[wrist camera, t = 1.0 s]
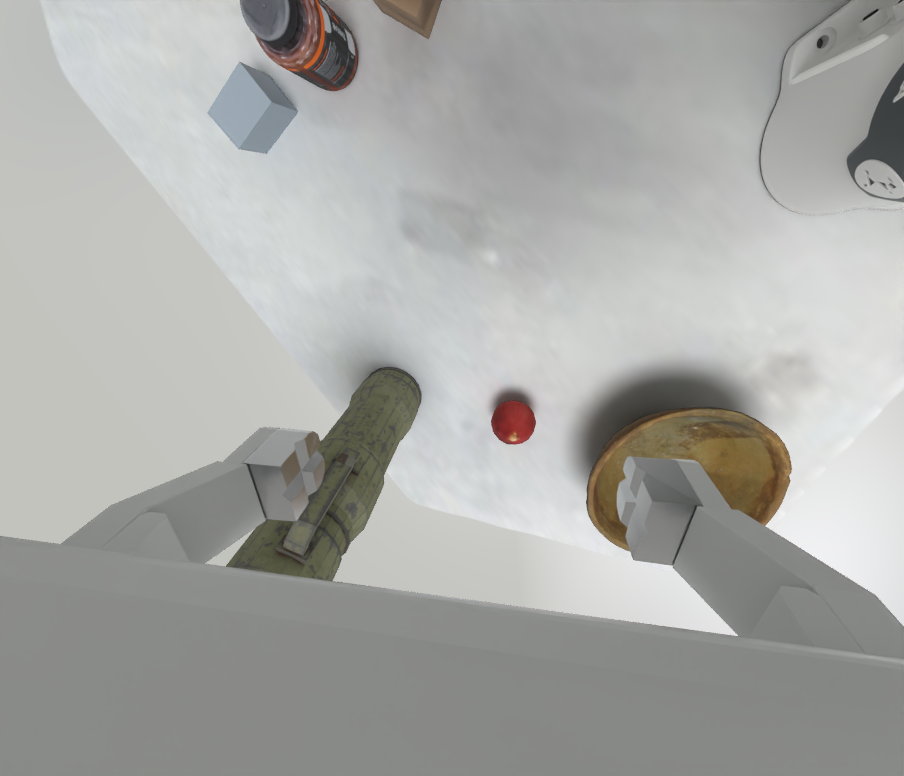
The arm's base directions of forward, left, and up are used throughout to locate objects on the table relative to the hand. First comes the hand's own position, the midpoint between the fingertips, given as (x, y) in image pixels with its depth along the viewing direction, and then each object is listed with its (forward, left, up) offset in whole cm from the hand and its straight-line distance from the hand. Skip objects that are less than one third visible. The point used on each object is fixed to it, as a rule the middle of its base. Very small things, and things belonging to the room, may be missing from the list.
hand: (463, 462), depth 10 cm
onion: (+14, +16, -39) cm, 44 cm away
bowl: (+4, +34, -39) cm, 52 cm away
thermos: (+25, +2, -39) cm, 46 cm away
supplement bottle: (-2, -26, -39) cm, 47 cm away
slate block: (+7, -29, -39) cm, 49 cm away
